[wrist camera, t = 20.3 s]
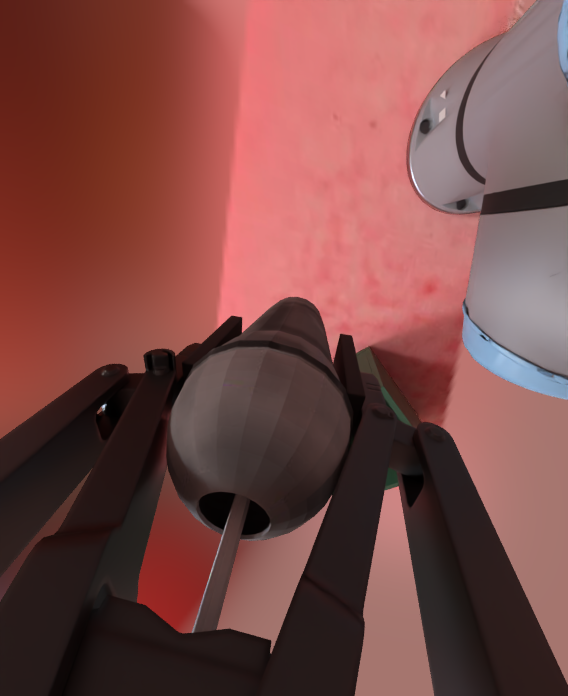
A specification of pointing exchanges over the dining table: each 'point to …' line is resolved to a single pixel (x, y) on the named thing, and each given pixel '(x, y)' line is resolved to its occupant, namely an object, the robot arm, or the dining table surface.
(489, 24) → the dining table surface
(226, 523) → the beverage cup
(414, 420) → the green open box
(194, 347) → the robot arm
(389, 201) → the dining table surface
